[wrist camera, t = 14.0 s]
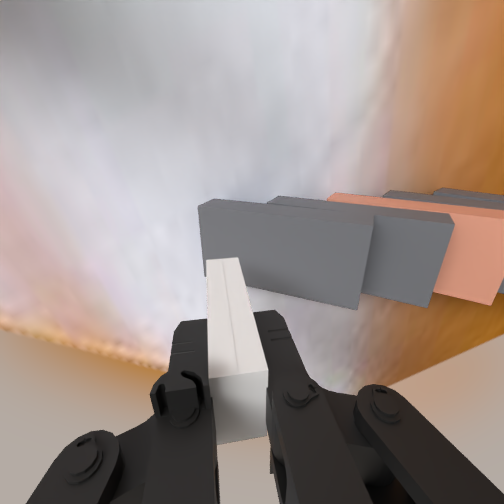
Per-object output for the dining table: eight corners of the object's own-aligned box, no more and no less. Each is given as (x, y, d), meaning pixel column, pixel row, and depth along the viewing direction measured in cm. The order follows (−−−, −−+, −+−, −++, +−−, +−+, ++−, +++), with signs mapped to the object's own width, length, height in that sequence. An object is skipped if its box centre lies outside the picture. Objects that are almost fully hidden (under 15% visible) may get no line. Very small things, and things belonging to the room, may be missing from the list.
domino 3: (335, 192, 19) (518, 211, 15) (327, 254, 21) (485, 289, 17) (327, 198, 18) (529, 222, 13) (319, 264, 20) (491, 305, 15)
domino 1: (214, 198, 18) (373, 214, 14) (218, 264, 20) (359, 291, 17) (197, 206, 16) (373, 226, 13) (204, 276, 19) (357, 310, 15)
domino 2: (278, 195, 19) (449, 213, 15) (276, 259, 21) (424, 290, 17) (267, 202, 17) (455, 224, 13) (266, 270, 19) (427, 308, 15)
